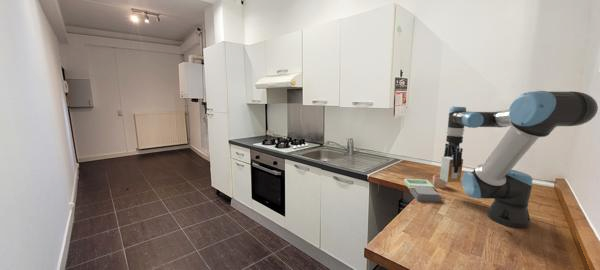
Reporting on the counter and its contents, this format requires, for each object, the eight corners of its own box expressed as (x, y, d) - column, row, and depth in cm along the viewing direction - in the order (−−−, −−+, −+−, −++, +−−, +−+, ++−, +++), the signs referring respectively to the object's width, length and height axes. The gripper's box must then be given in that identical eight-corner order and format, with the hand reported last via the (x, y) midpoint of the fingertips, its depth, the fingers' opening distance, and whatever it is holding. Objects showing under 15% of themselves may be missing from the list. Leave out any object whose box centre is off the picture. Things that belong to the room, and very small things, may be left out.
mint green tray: (434, 190, 146) (434, 186, 145) (409, 189, 147) (409, 185, 146) (426, 183, 156) (426, 179, 156) (403, 182, 158) (404, 178, 157)
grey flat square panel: (438, 195, 131) (438, 194, 131) (418, 194, 132) (419, 193, 132) (430, 188, 141) (430, 186, 141) (412, 187, 142) (412, 185, 142)
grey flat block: (440, 201, 131) (441, 195, 130) (416, 200, 132) (416, 194, 131) (431, 192, 142) (431, 186, 142) (408, 191, 144) (409, 185, 143)
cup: (447, 188, 148) (448, 179, 147) (435, 188, 149) (436, 178, 148) (442, 184, 155) (443, 175, 154) (430, 183, 156) (431, 174, 155)
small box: (447, 182, 134) (449, 159, 132) (439, 178, 140) (441, 156, 138) (460, 182, 135) (463, 159, 133) (452, 178, 141) (454, 156, 139)
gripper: (473, 138, 123) (467, 182, 127) (452, 132, 143) (448, 170, 146) (457, 138, 124) (452, 181, 127) (439, 132, 143) (435, 170, 147)
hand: (450, 175), depth 137 cm, fingers closed on small box, 7 cm apart
